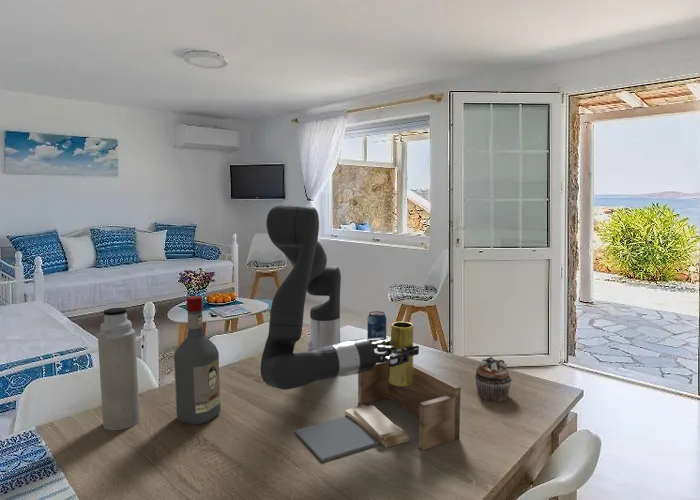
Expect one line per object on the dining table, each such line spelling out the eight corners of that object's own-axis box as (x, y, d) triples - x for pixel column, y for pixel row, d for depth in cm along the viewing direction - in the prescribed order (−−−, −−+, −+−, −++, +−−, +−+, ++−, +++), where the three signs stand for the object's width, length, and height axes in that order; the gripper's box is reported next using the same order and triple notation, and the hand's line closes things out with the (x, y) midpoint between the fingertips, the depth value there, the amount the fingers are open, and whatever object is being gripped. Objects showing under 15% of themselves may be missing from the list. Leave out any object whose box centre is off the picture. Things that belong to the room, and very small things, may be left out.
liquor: (171, 420, 115) (165, 299, 111) (195, 405, 123) (191, 292, 120) (202, 427, 112) (197, 302, 108) (225, 410, 120) (221, 295, 117)
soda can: (373, 349, 169) (373, 316, 167) (364, 343, 175) (364, 312, 174) (389, 346, 172) (390, 314, 171) (380, 341, 178) (380, 310, 177)
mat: (321, 461, 97) (321, 459, 97) (295, 432, 109) (295, 430, 109) (379, 444, 104) (379, 441, 103) (347, 418, 116) (347, 416, 116)
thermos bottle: (121, 412, 119) (115, 304, 116) (147, 417, 116) (141, 306, 113) (95, 427, 111) (87, 311, 108) (121, 432, 109) (115, 314, 106)
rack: (396, 459, 98) (396, 403, 96) (334, 408, 121) (334, 363, 120) (459, 438, 106) (460, 386, 105) (390, 394, 130) (390, 352, 129)
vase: (413, 377, 117) (414, 321, 115) (414, 387, 111) (415, 328, 109) (388, 376, 117) (389, 320, 116) (388, 386, 111) (389, 327, 110)
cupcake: (468, 395, 129) (469, 360, 128) (484, 385, 136) (485, 351, 135) (501, 406, 123) (502, 368, 121) (516, 394, 130) (518, 359, 129)
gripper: (366, 351, 99) (429, 339, 108) (335, 333, 112) (393, 323, 120) (366, 385, 100) (428, 370, 109) (335, 363, 113) (393, 352, 121)
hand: (410, 346), depth 114 cm, fingers closed on vase, 5 cm apart
